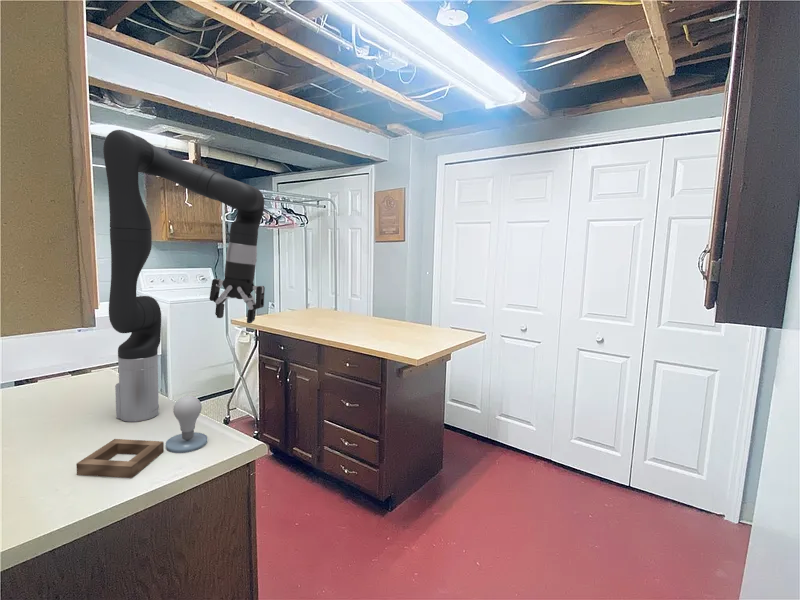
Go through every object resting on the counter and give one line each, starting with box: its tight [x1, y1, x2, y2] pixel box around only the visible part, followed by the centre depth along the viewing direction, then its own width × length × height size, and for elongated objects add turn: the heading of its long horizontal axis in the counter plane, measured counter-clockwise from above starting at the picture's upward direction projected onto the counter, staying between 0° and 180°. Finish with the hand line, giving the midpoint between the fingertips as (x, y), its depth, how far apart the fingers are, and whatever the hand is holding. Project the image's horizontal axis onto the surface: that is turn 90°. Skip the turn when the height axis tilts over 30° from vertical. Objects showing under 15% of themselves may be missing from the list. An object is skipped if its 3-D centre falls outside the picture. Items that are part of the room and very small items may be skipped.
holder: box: [76, 438, 165, 479], centre depth 94 cm, size 12×12×2 cm
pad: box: [165, 431, 208, 454], centre depth 104 cm, size 9×9×1 cm
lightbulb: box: [172, 395, 202, 441], centre depth 103 cm, size 6×6×11 cm
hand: (234, 320), depth 116 cm, fingers open, 8 cm apart
